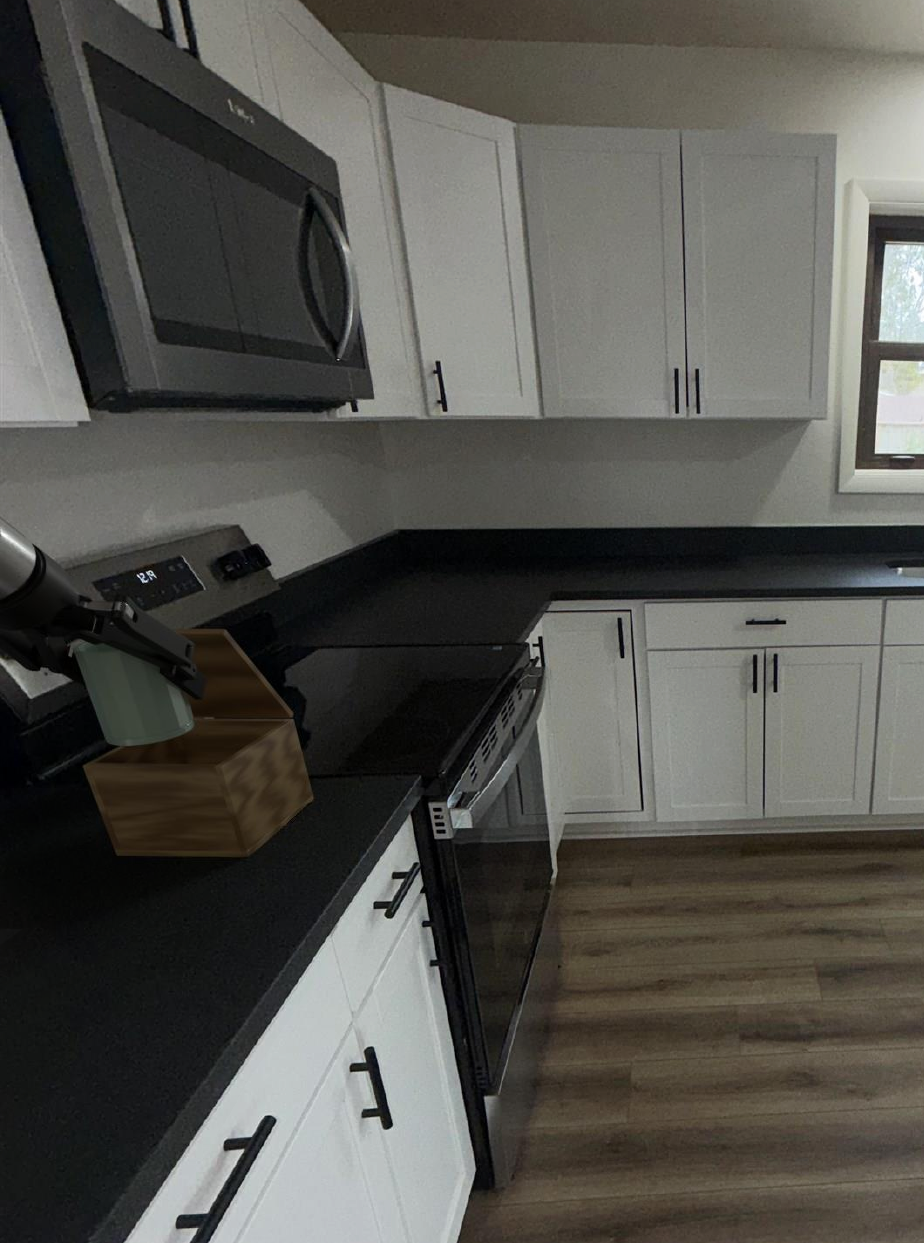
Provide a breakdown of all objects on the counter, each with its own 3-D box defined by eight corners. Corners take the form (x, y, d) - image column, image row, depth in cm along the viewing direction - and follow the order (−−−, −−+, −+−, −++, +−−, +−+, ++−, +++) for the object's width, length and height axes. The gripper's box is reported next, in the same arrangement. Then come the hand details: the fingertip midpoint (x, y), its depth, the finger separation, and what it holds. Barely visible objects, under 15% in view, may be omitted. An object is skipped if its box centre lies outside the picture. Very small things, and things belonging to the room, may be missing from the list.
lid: (222, 634, 94) (225, 628, 94) (84, 633, 94) (87, 628, 95) (291, 718, 108) (293, 713, 108) (170, 717, 108) (173, 712, 109)
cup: (86, 745, 84) (52, 652, 80) (142, 718, 91) (113, 631, 87) (161, 746, 84) (130, 653, 79) (211, 719, 91) (185, 632, 87)
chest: (248, 857, 99) (221, 766, 94) (116, 856, 99) (82, 765, 94) (314, 800, 113) (293, 718, 108) (199, 799, 114) (172, 718, 109)
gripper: (-160, 612, 65) (48, 724, 87) (116, 606, 67) (253, 717, 88) (-131, 535, 68) (64, 662, 89) (133, 532, 70) (263, 657, 91)
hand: (158, 689), depth 89 cm, fingers closed on cup, 8 cm apart
